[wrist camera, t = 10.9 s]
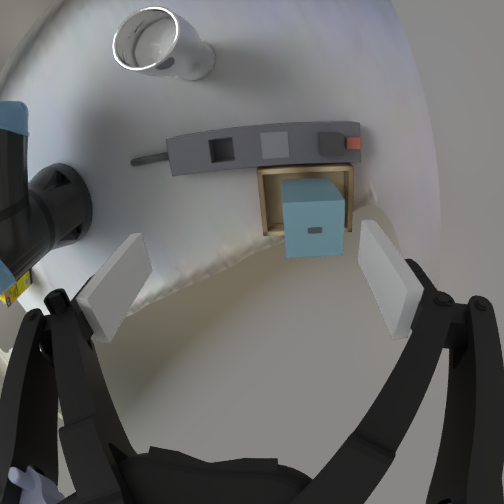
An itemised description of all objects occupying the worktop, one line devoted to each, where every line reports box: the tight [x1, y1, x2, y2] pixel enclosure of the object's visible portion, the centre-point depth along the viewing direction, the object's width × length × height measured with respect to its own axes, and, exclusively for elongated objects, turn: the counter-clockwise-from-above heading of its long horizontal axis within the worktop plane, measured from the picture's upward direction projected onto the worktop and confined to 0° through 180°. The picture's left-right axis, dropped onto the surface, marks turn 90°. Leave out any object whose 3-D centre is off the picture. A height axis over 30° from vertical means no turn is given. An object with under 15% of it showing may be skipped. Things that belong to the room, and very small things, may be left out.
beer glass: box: [113, 6, 215, 81], centre depth 23 cm, size 7×7×15 cm
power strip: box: [131, 122, 361, 176], centre depth 33 cm, size 32×5×6 cm, turn 96°
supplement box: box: [0, 270, 32, 308], centre depth 46 cm, size 6×6×11 cm
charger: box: [282, 178, 345, 258], centre depth 32 cm, size 6×6×12 cm
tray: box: [257, 162, 353, 236], centre depth 36 cm, size 12×9×4 cm
